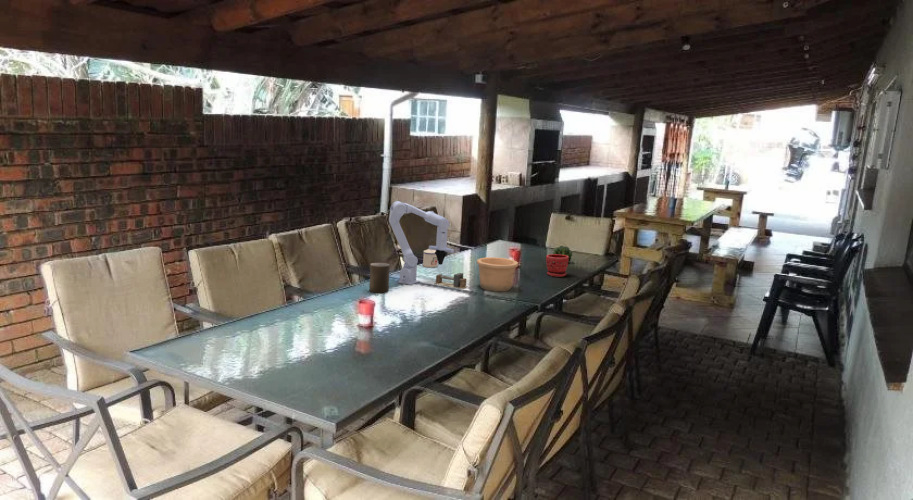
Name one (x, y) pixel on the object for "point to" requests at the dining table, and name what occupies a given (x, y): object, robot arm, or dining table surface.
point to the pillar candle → (379, 277)
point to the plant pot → (557, 265)
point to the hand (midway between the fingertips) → (440, 264)
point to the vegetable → (563, 251)
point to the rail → (439, 282)
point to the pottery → (496, 273)
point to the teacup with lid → (430, 258)
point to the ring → (457, 279)
